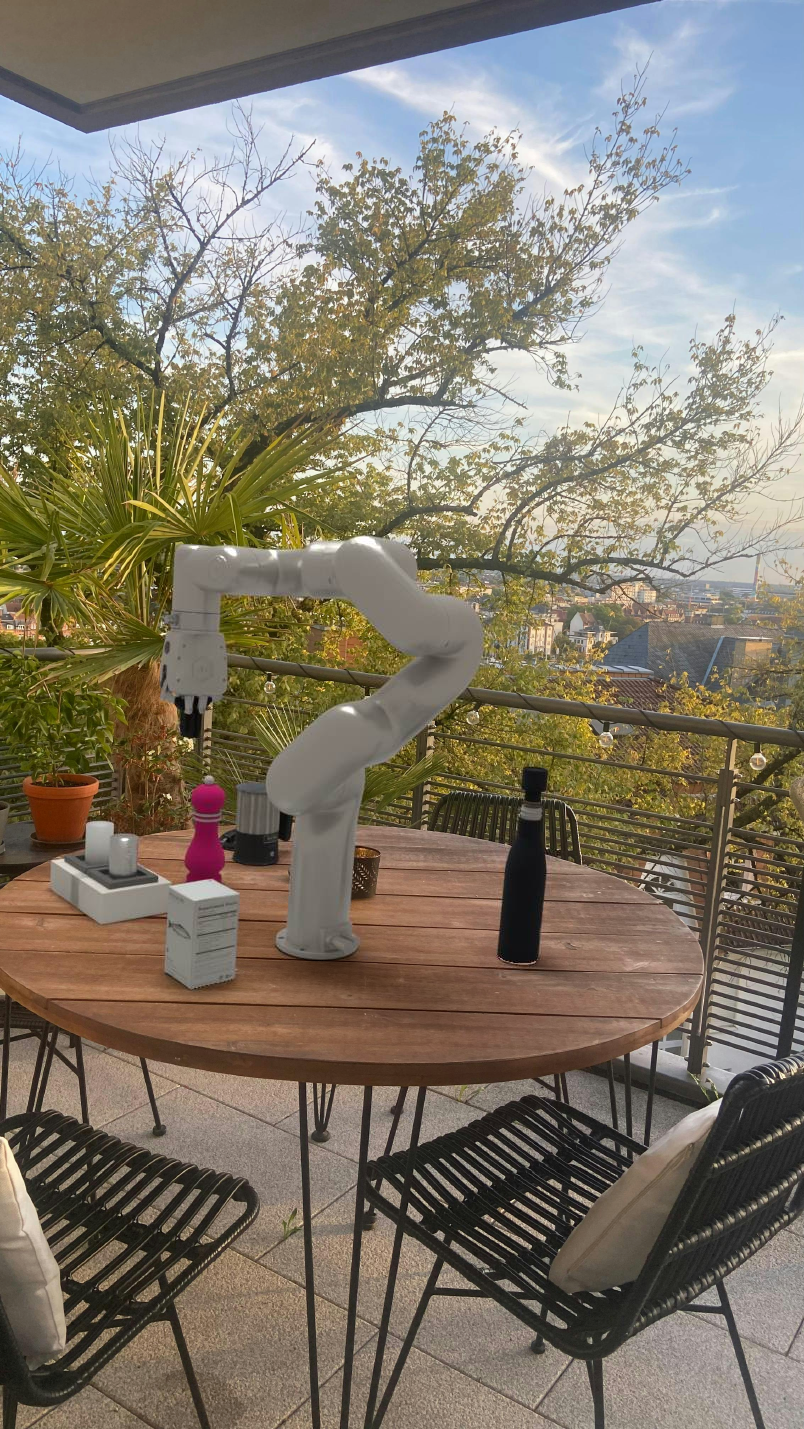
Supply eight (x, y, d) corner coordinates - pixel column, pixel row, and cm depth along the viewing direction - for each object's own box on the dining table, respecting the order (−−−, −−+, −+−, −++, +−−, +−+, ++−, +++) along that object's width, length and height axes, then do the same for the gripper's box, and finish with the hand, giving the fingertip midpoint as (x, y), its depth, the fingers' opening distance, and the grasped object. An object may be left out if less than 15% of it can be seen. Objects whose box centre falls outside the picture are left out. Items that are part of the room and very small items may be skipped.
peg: (140, 910, 160) (143, 838, 158) (114, 914, 157) (117, 842, 155) (127, 902, 163) (130, 832, 162) (102, 906, 160) (105, 835, 159)
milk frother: (265, 869, 187) (269, 793, 186) (193, 856, 193) (197, 782, 191) (297, 852, 201) (301, 782, 199) (229, 840, 206) (233, 771, 204)
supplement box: (162, 972, 136) (166, 884, 134) (209, 962, 141) (213, 877, 139) (189, 991, 130) (193, 900, 129) (236, 979, 135) (241, 892, 134)
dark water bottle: (489, 951, 153) (507, 764, 149) (525, 949, 156) (543, 764, 152) (508, 967, 147) (526, 772, 143) (545, 964, 150) (564, 773, 146)
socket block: (170, 912, 160) (173, 840, 158) (101, 924, 152) (103, 849, 150) (116, 879, 175) (118, 813, 173) (50, 888, 167) (52, 820, 165)
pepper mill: (219, 892, 172) (225, 781, 169) (178, 889, 172) (184, 778, 169) (227, 880, 179) (233, 773, 176) (188, 877, 179) (193, 770, 176)
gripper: (164, 623, 147) (158, 743, 150) (248, 626, 157) (242, 738, 160) (141, 620, 153) (136, 735, 155) (223, 623, 163) (218, 731, 165)
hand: (189, 736), depth 157 cm, fingers closed
